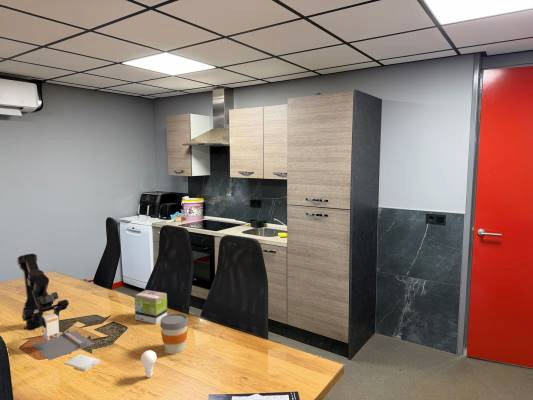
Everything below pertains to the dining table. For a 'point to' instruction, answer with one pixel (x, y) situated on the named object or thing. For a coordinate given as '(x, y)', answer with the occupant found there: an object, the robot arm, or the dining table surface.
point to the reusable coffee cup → (174, 332)
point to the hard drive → (82, 362)
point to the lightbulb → (148, 362)
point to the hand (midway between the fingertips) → (51, 325)
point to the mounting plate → (60, 345)
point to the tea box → (150, 306)
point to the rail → (74, 339)
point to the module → (51, 326)
